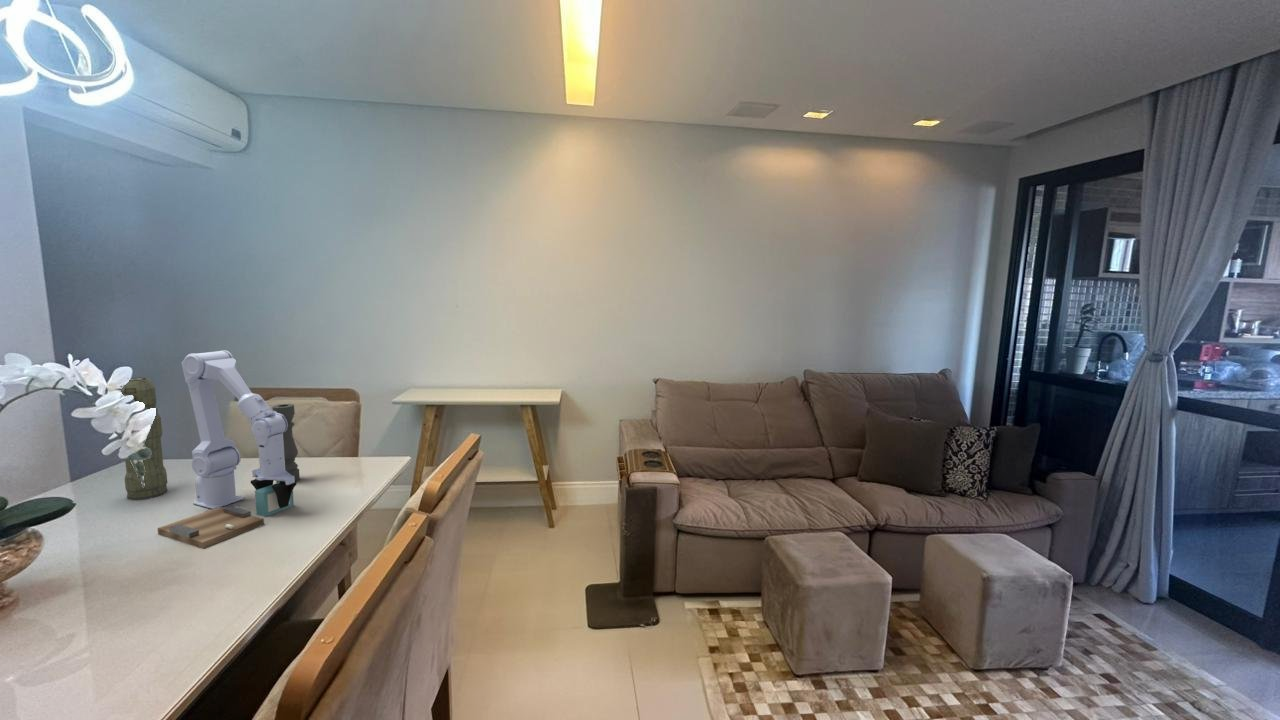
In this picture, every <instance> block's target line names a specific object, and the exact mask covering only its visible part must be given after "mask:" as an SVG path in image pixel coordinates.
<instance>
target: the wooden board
mask: <svg viewBox="0 0 1280 720" xmlns="http://www.w3.org/2000/svg"><path fill="white" fill-rule="evenodd" d="M262 525H265V519H264V518H262V517H259V516H254V515H252V511H251V510H248V509H244V508H241V507H236V506H233V505H230V506H227V507H223V506H222V507H218V508H215V509H210V510H207V511H203V512H201V513H198V514H195V515H192V516H189V517H186V518H184V519H181V520H177V521H175V522H172V523H168V524H166V525H162V526H160V527H157V534H158V535H162V536H164V537H166V538H167V537H168V538H169V539H174V540H176V541H179V542H183V543H186V544H189V545H192V546H194V547H198V548H201V549H206V548H207V547H210V546H213V545H216V544H218V543H220V542H222V541H225V540H227V539H230V538H233V537H236V536H238V535H240V534H242V533H245V532H247V531H250V530H253V529H255V528H257V527H259V526H262Z"/></svg>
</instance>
